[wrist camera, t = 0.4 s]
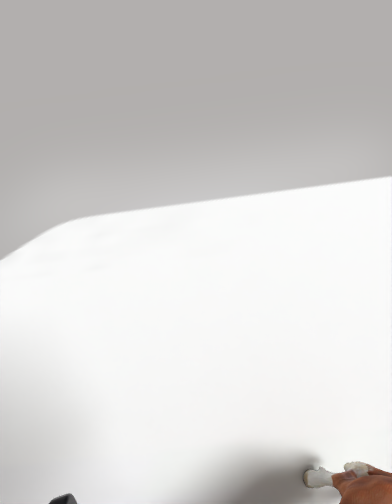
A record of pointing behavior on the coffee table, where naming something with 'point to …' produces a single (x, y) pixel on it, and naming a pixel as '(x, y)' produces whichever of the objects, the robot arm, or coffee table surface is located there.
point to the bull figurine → (354, 483)
